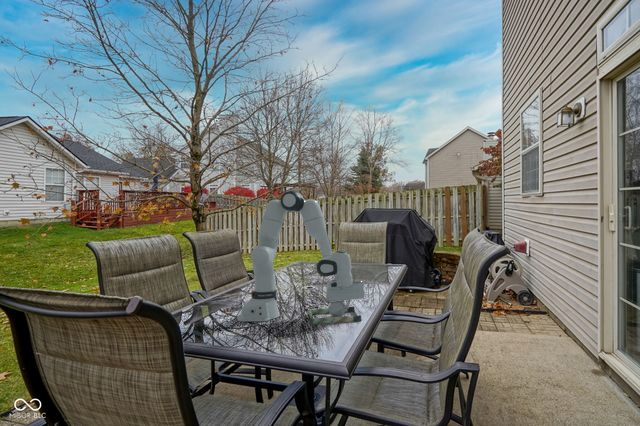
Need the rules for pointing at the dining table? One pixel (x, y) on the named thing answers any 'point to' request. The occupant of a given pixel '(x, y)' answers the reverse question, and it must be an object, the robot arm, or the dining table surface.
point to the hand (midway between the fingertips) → (346, 308)
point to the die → (336, 309)
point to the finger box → (333, 319)
